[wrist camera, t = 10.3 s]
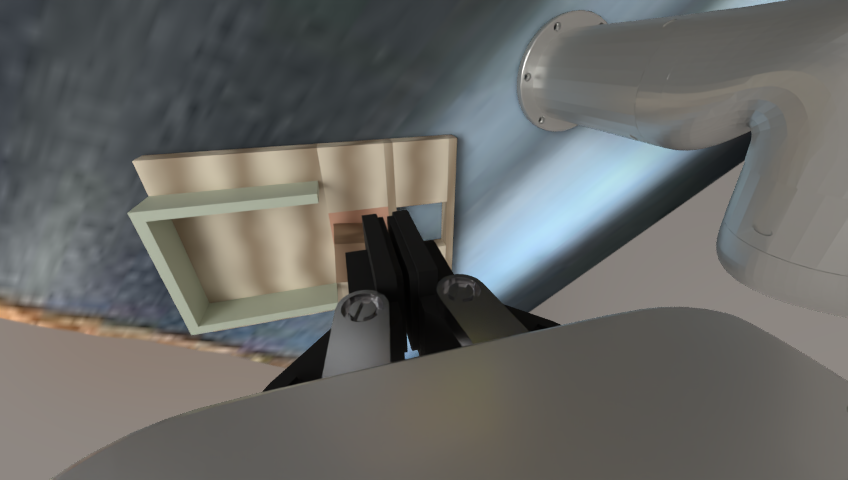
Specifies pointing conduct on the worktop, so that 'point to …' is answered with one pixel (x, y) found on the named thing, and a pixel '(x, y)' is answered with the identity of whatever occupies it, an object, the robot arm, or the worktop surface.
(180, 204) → the low bay
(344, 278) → the walnut block
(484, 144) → the worktop surface
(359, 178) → the board
